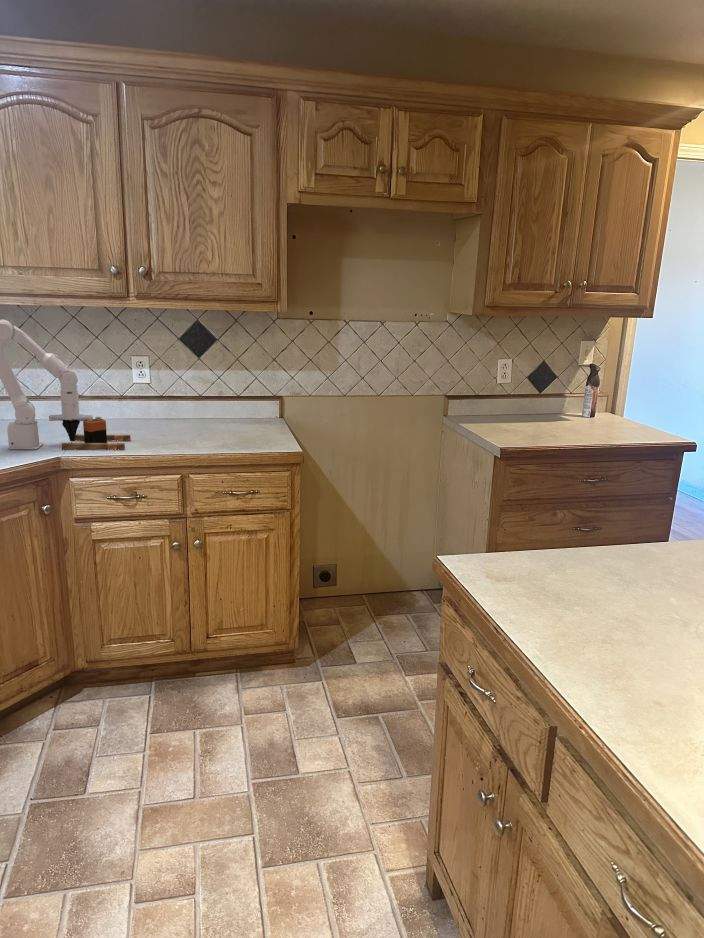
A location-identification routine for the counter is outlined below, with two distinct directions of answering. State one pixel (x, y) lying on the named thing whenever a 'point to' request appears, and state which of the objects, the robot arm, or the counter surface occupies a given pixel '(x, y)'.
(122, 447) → the guide channel
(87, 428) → the battery
